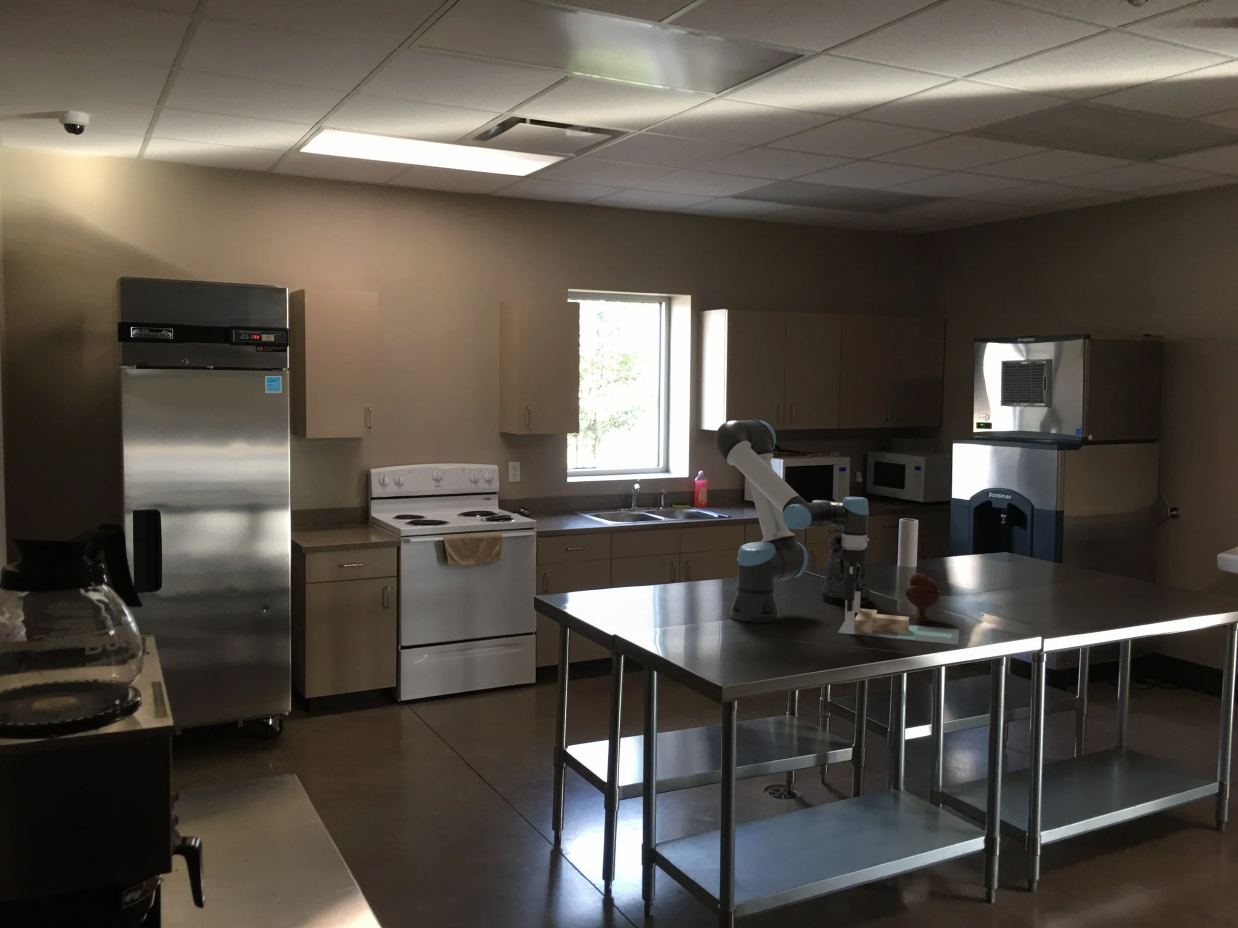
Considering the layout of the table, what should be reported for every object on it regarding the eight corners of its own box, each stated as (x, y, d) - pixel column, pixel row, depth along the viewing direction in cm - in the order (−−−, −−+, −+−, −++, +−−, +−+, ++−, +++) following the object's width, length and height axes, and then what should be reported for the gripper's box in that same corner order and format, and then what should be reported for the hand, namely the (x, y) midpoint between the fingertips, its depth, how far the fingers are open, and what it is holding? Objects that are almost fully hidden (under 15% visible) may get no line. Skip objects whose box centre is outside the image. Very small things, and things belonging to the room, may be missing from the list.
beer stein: (866, 596, 352) (869, 525, 350) (874, 608, 333) (877, 534, 331) (818, 594, 354) (821, 524, 352) (824, 606, 335) (827, 532, 333)
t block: (853, 632, 298) (854, 619, 297) (860, 621, 313) (860, 608, 312) (906, 637, 293) (906, 624, 292) (910, 625, 308) (910, 612, 307)
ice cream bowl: (916, 625, 310) (918, 577, 309) (897, 617, 321) (899, 571, 320) (946, 623, 313) (948, 576, 312) (926, 615, 324) (928, 569, 323)
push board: (837, 633, 298) (837, 632, 298) (845, 619, 316) (845, 618, 316) (958, 645, 286) (958, 644, 286) (959, 630, 304) (959, 629, 304)
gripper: (862, 554, 291) (860, 626, 292) (871, 542, 314) (869, 609, 316) (836, 553, 293) (834, 624, 295) (847, 541, 317) (845, 607, 318)
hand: (852, 616), depth 305 cm, fingers open, 13 cm apart
